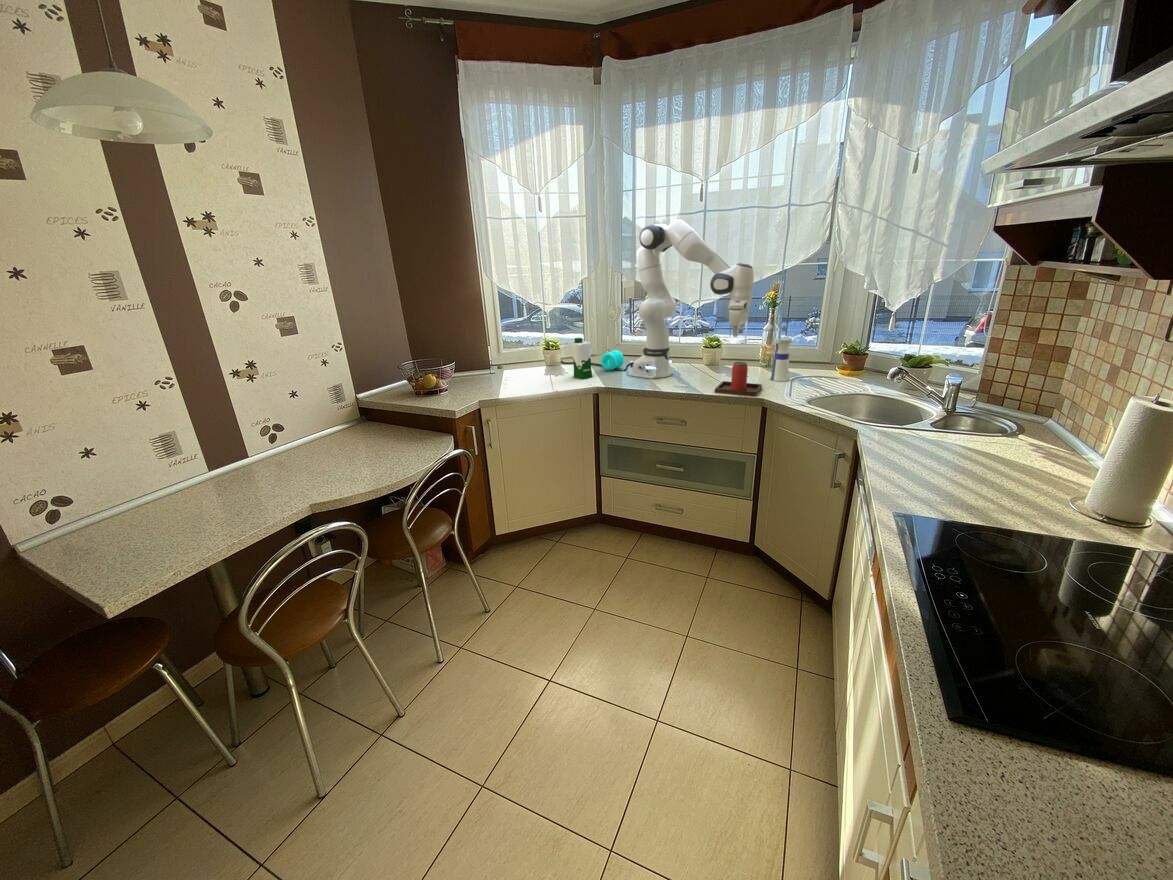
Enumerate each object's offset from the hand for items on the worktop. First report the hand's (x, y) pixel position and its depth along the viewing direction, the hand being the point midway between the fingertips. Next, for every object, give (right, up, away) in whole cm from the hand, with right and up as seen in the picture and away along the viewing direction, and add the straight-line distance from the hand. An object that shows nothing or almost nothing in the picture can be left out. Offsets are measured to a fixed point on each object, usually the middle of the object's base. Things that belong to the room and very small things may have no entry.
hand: (737, 334), depth 214 cm
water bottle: (+24, -18, +15) cm, 34 cm away
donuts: (-53, -8, +51) cm, 74 cm away
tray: (0, -25, 0) cm, 25 cm away
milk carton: (-70, -14, +37) cm, 80 cm away
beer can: (0, -25, 0) cm, 25 cm away
